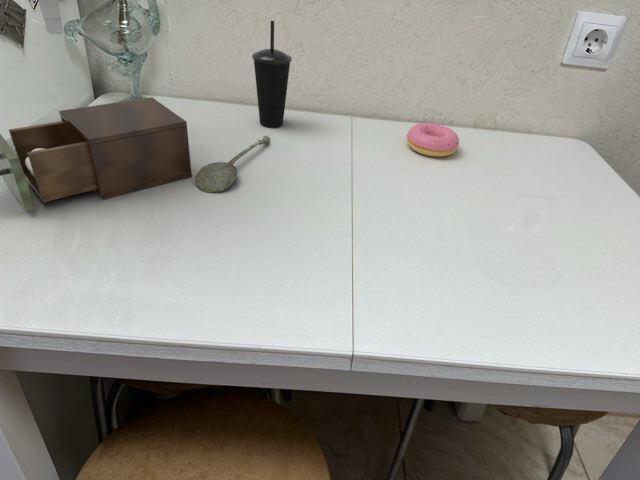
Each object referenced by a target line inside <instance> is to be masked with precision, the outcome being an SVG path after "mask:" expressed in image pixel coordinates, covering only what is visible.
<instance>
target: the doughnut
mask: <svg viewBox="0 0 640 480" xmlns="http://www.w3.org/2000/svg"><path fill="white" fill-rule="evenodd" d="M406 142H407V145H408V146H409V148H410V149H412V150H413V151H415V152H416V153H418V154H421V155H424V156H428V157H434V158H435V157H437V158H440V157H447V156H451V155H452V154H454V153H455V152H456V151H457V149H458V147H459V146H460V138H459V135H458V133H456V131H454V130H453V129H452V128H449V127H447V126H445V125H443V124H439V123H432V122H422V123H417V124H414V125H412V127H409V129H408V131H407V133H406Z"/></svg>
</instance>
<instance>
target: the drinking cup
mask: <svg viewBox="0 0 640 480" xmlns="http://www.w3.org/2000/svg"><path fill="white" fill-rule="evenodd" d="M269 42H270V43H269V45H270V46H269V48H265V49H261V50H258V51H256V52H253V53H252V54H251V58H252V60H253V65H254V66H253V67H254V77H255V86H256V96H257V107H258V108H257V109H258V116H259V117H258V118H259V124H260V125H261V126H262V127H265V128H271V129H275V128H280V127H282V126H283V125H284V118H285V110H286V109H285V108H286V101H287V92H288V85H289V84H288V83H289V82H288V81H289V77H290V75H289V74H290V67H291V66H290V65H291V63H292V60H293V58H292V56H291V55H289V54H287V53H286V52H284V51H282V50H280V49H275V20H270V41H269Z"/></svg>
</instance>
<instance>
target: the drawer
mask: <svg viewBox="0 0 640 480" xmlns="http://www.w3.org/2000/svg"><path fill="white" fill-rule="evenodd" d="M8 133H9V136H10V139H11V142H12V145H13V148H14V149H13V148H12V147H11V146H10V144H9V143H8V142H7V141H6V139H5V137H3V135H2V134H1V133H0V176H1V177H2V178H3V180H4V181H5V183H6V185H7V186H8V188H9V189H10V190H11V192H12V194H13V195H14V196H15V198H16V199H17V201H18V202H19V204H20V205H21V206H22V208H23V209H24V211H25V212H28V211H32V210H35V209H36V206H35V204H34V200H33V197H32V195H31V192H30V191H31V190H30V188H29V185H30V186H31V188H32V189H33V190H34V191H35V193H36V195H37V196H38V197H39V198H40V200H41V202H43V203H47V202H49V201H54V200H59V199H62V198H63V199H64V198H67V197H71V196H74V195H79V194H83V193H87V192H91V191H94V190H96V189H98V185H97V180H96V176H95V171H94V167H93V162H92V158H91V154H90V149H89V145H88V142H87V141H86V140H85V139H84V138H83V137H82V136H81V135H80V134H79V133H78V132H77V131H76V130H75V129H73V128H72V127H71V126H70V125H69V124H68V123H67V122H66V121H61V120H60V121H53V122H47V123H42V124H35V125H29V126H22V127H17V128H16V127H15V128H9V129H8ZM37 148H44V149H43V150H38V151H33V152H31V151H32V150H34V149H37ZM28 157H29V160H30V163H31V167H32V170H33V173H34V176H35V177H34V176H33V175H31V173H30V171H29V170H28V168H27V167H26V164H25V160H26V158H28ZM28 184H29V185H28Z"/></svg>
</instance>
